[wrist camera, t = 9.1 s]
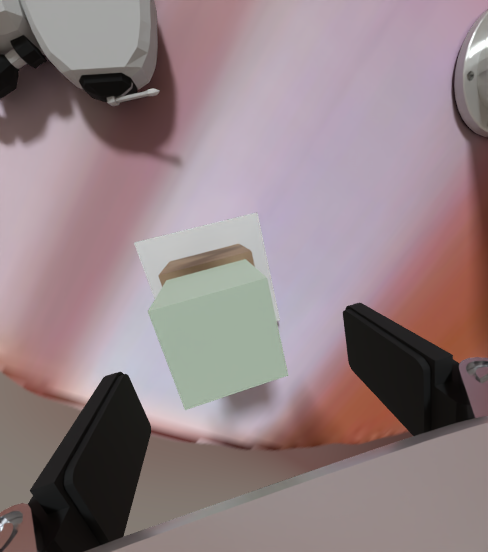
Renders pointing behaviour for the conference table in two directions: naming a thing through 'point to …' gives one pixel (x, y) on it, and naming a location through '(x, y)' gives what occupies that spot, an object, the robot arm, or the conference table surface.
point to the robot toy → (82, 44)
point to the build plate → (204, 247)
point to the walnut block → (205, 261)
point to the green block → (218, 332)
